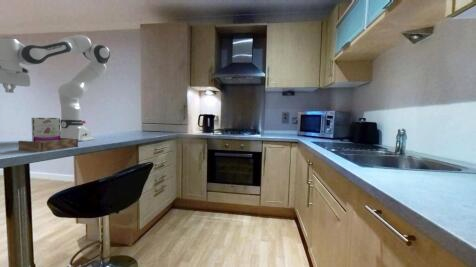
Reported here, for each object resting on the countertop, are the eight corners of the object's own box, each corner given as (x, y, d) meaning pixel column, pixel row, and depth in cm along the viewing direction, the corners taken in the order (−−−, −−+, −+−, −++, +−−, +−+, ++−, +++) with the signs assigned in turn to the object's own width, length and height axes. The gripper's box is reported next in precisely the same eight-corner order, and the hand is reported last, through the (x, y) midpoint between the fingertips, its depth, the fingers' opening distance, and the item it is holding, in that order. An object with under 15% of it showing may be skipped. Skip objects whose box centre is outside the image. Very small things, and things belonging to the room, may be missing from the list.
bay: (58, 145, 138) (58, 137, 138) (77, 146, 136) (77, 138, 136) (18, 149, 117) (18, 140, 117) (40, 151, 115) (40, 142, 115)
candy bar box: (58, 147, 130) (58, 117, 129) (60, 148, 127) (60, 118, 125) (31, 149, 121) (31, 117, 120) (33, 150, 118) (33, 117, 117)
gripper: (-9, 63, 121) (-9, 90, 122) (32, 71, 141) (32, 94, 142) (-19, 63, 122) (-18, 90, 123) (23, 71, 142) (23, 94, 143)
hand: (9, 92), depth 133 cm, fingers closed
